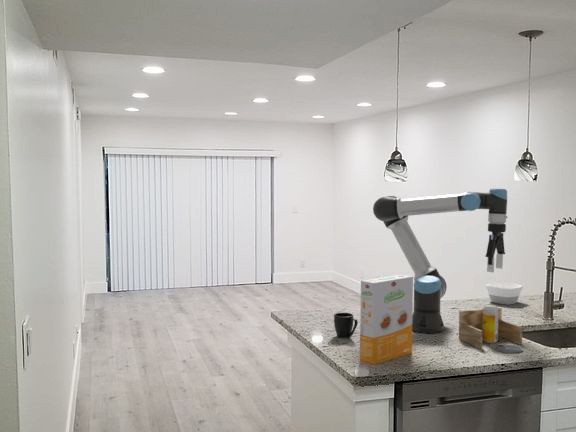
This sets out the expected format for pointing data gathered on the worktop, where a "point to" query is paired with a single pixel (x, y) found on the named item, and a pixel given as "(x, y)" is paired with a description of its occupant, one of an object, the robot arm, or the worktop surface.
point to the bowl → (504, 292)
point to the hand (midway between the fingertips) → (494, 270)
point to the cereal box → (386, 318)
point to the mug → (344, 324)
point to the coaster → (508, 348)
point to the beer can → (490, 323)
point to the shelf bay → (474, 321)
